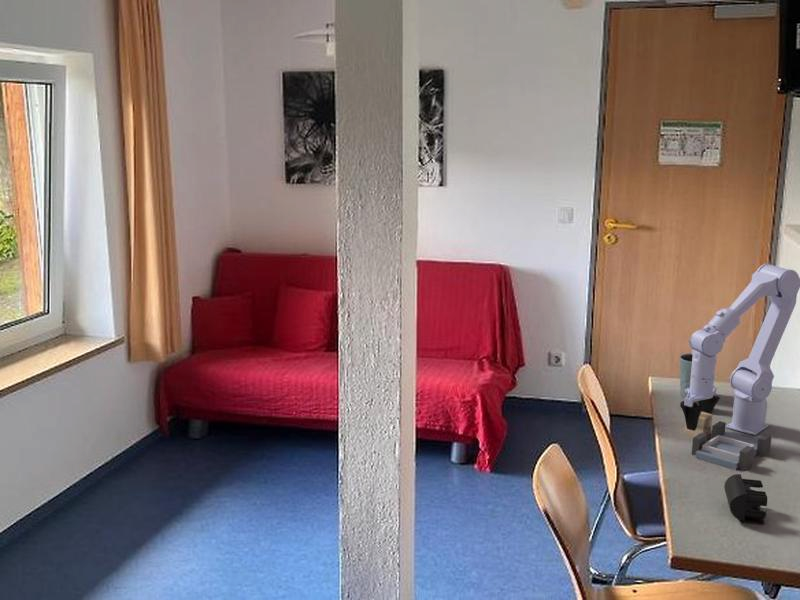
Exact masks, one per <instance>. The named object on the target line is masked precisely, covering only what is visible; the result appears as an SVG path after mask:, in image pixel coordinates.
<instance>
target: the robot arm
mask: <svg viewBox="0 0 800 600" xmlns="http://www.w3.org/2000/svg"><path fill="white" fill-rule="evenodd" d="M799 290H800V276H799V273H798V272H797V271H795V270H794V269H787V268H785V267H779V266H776V265H773V264H771V263H764V264H761V265H760V266H759V267H758V268H757V270H756V271H754V273H752V275H751V281H750V282H749V284H748V285H747V286H746V287H745V288H744V289H743V291H742V292H741V293H740V294H739V295H738V297H737V298H736V299H735V300H734V301H733V302H732V304H731V305H730V306H729V307H727V308H721V309H719V310H718V311H717V312H715V315H714V316H713V317H712V319H710V320H709V322H707V324H705V325H704V326H703V328H702V329H701V328H700V329H698V330H696V331H694V332H693V333H692V335H691V336H690V339H688V345H689V347H690V349H691V353H692V355H693V357H692V368H691V379H690V388H687V389H685V392H687V393H688V394H687V397H686V398H685V399H684V400H683V401H681V402H680V405H679V406H680V408H681V411H682V412H683V415H684V421H685V420H686V426H687V429H689V430H693V431H695V430H696V428H697V424H698V419H699V416H700V414H701V412H705V413H709V414H713V412H714V409H715V407H716V405H717V403H718V402H719V401H720V396H717V395H716V394H717V386H714V385H715V383H714V381H715V372H716V365H715V364H717V355H718V354H719V353H721V351H722V349H723V346H724V344H725V342H726V339H727V338H728V336H730V335H731V334H732V332H733V331H735V330H736V328H737V327H738V326H739V325H740V324H741V320H740V319H741V317H742V315H743V314H745V313H746V312H747V311H748V310H749V309H751V308H752V307H753V306H754V305H755V304H756V303H757V302H758V301H759V300H760V299H762V298H763V297H768V298H769V301H770V306H769V308H768V311H767V313H766V315H765V317H764V320H763V323H762V325H761V327H760V330H759V332H758V334H757V336H756V339H755V341H754V344H753V346H752V348H751V350H750V353H749V355H748V358H745V359H743V360H742V361H739V363H738V365H737V367H736V368H735V369H734V371H732V372H731V375H730V377H729V384H730V386H731V388H732V389H733V390H732V391H733V394H734V397H733V409H732V419H731V422H730V423H728V424H726V427H725V429H730V430H734V431H737V432H741V433H744V434H749V435H751V436H757V434H759V433H761V432H762V431H764V430H765V429H766V428H768V427H769V423H766V420H767V419H766V417H767V411H768V409H767V408H768V401H767V398H768V397H769V396H770V394H771V392H772V389H773V387H772V386H773V381H774V378H775V374H774V373H773V371H772V369H771V363H772V361H773V359H774V356H775V354H776V351H777V349H778V346H779V345H780V342H781V340H782V337H783V335H784V333H785V331H786V329H787V326H788V324H789V321H790V319H791V316H792V313H793V311H794V309H795V307H796V304H797V296H798V292H799ZM697 402H698V403H699V406H698V404H697Z"/></svg>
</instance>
